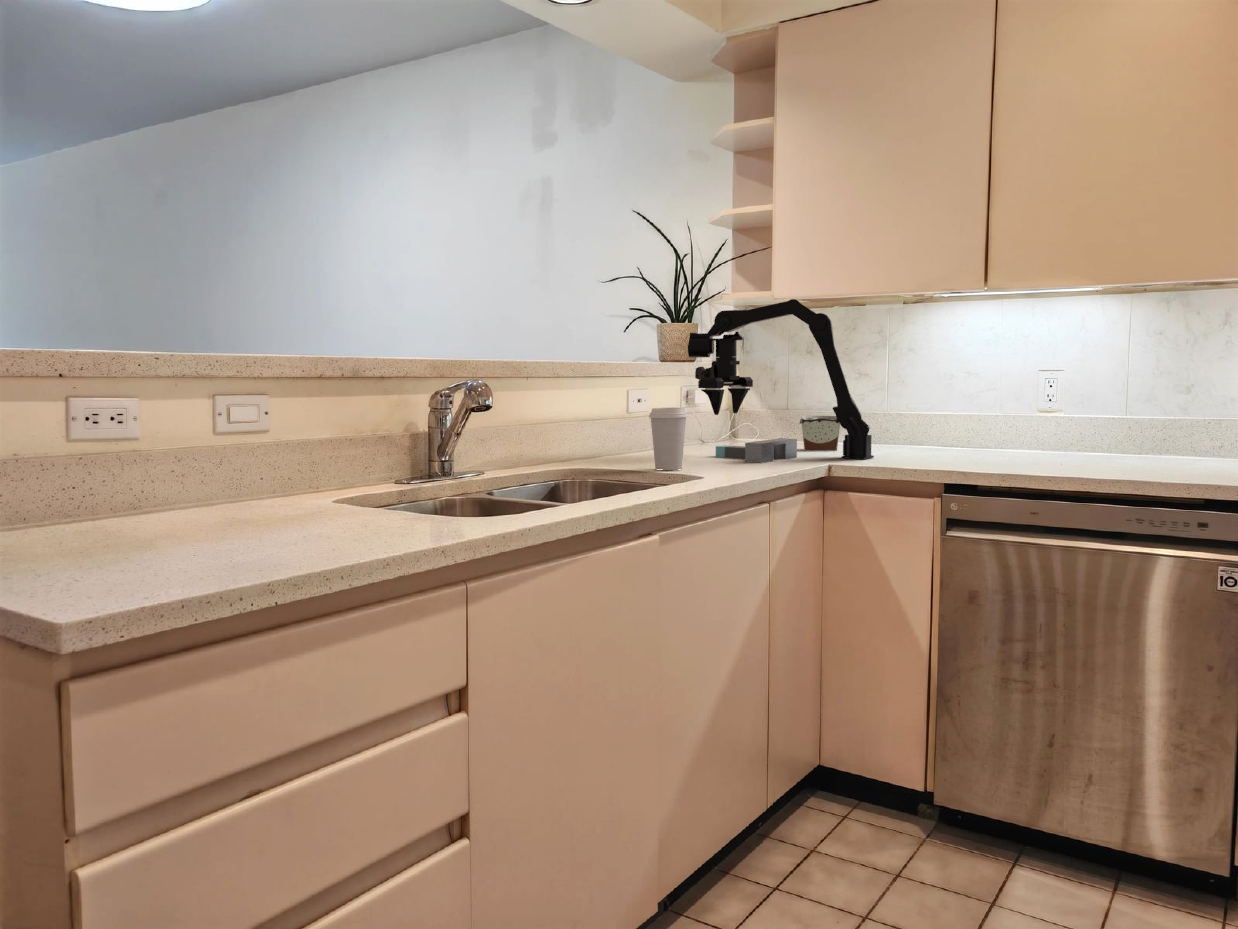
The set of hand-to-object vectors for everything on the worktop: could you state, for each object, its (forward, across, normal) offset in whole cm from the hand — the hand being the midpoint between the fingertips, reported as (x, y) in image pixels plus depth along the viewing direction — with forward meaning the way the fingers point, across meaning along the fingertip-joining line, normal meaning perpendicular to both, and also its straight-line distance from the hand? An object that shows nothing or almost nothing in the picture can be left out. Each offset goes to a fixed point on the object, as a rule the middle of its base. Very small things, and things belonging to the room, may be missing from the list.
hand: (725, 414), depth 250 cm
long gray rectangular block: (+12, 0, +15) cm, 19 cm away
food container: (+12, -31, +12) cm, 35 cm away
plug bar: (+12, 0, +4) cm, 13 cm away
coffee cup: (+12, +34, +6) cm, 37 cm away
